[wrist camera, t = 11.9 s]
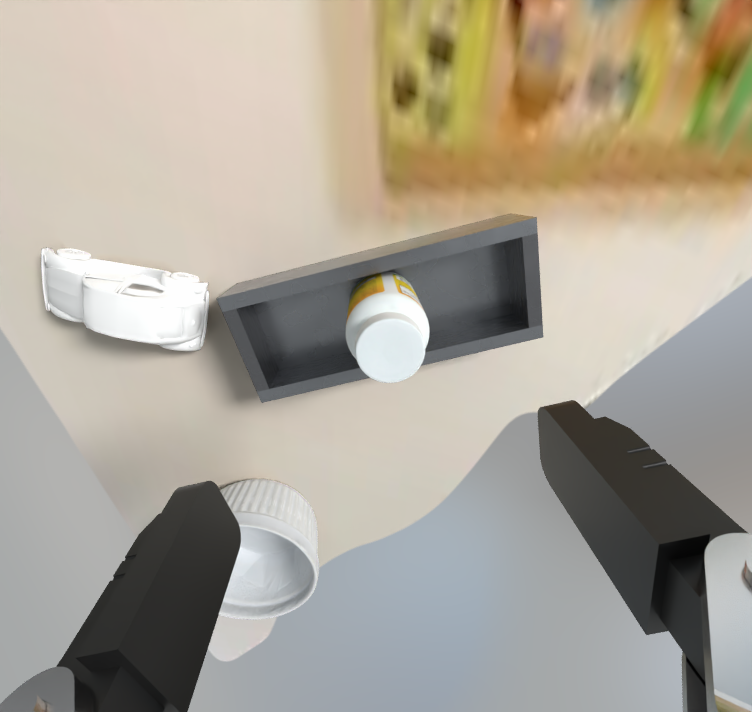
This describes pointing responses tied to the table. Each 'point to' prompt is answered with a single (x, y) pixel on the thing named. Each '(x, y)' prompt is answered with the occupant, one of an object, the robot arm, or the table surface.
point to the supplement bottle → (386, 327)
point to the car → (126, 299)
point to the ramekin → (270, 550)
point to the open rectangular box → (426, 276)
